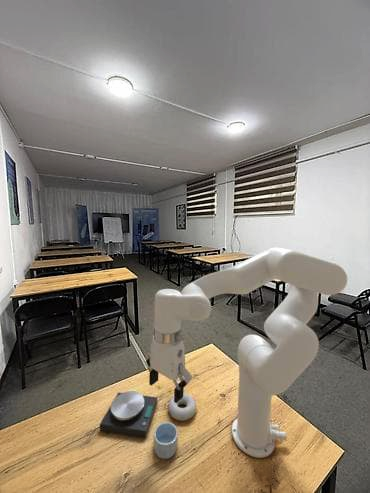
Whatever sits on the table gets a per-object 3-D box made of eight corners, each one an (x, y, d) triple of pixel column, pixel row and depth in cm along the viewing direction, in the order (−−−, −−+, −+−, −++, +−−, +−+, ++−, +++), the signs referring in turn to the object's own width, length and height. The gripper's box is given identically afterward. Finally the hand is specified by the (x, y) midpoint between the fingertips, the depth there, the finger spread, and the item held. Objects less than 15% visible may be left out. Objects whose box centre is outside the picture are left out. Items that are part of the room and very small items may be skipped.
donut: (164, 420, 70) (193, 426, 68) (164, 411, 70) (193, 416, 68) (172, 397, 80) (198, 401, 78) (172, 388, 80) (198, 392, 78)
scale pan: (148, 395, 76) (148, 392, 76) (137, 422, 65) (137, 420, 65) (119, 391, 77) (119, 389, 77) (104, 417, 66) (104, 415, 66)
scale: (157, 403, 77) (157, 396, 76) (145, 438, 64) (146, 430, 64) (118, 398, 79) (118, 391, 78) (99, 431, 66) (99, 423, 66)
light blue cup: (178, 437, 64) (179, 423, 64) (175, 461, 58) (175, 446, 57) (157, 434, 65) (157, 420, 65) (151, 457, 59) (151, 442, 58)
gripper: (200, 339, 57) (197, 398, 58) (155, 320, 67) (154, 371, 69) (183, 351, 51) (180, 416, 52) (136, 328, 61) (135, 383, 63)
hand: (165, 390), depth 60 cm, fingers open, 9 cm apart
